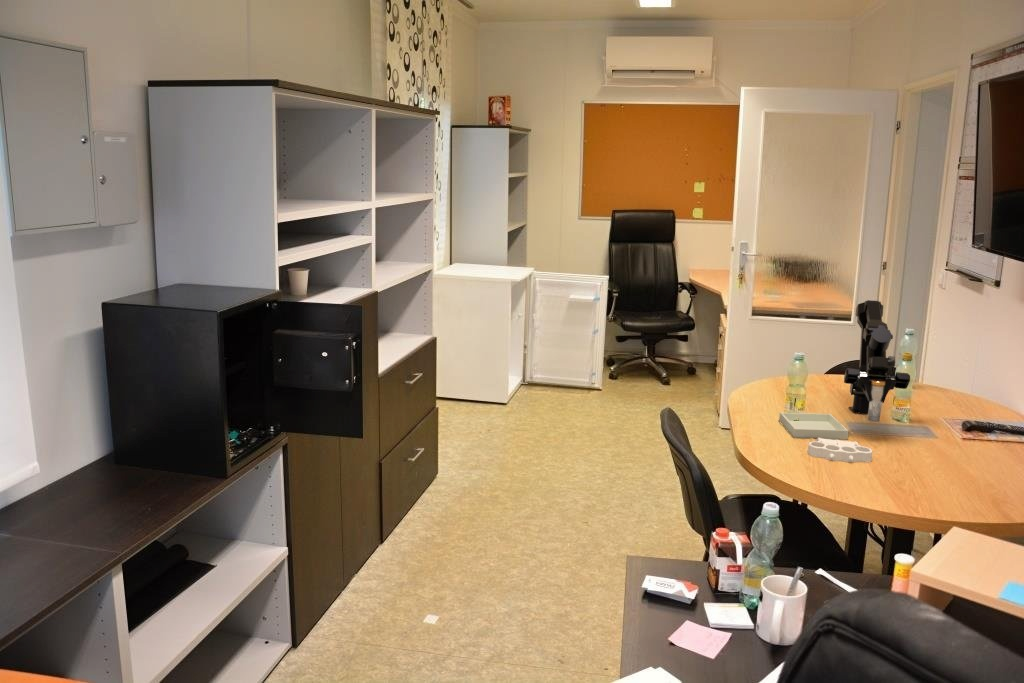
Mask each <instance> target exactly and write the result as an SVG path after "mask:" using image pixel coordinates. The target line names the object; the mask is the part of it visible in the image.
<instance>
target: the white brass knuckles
mask: <svg viewBox="0 0 1024 683" xmlns="http://www.w3.org/2000/svg"><path fill="white" fill-rule="evenodd" d="M807 445H808V446H807V455H809V456H811V457H813V458H821V459H826V460H829V461H833V462H844V463H858V462H859V463H870V462H872V459H873V449H872V448H870V447H868V446H863V445H860V444H859V442H858V441H850V440H849V441H848V440H842V439H822V438H817V439H816V441H815V440H813V441H812V440H811V441H810V442H808V444H807Z"/></svg>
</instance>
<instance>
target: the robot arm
mask: <svg viewBox="0 0 1024 683" xmlns="http://www.w3.org/2000/svg"><path fill="white" fill-rule="evenodd" d="M883 315H884V305H883V304H882V301H879V300H865V301H864V302H861V303H858V304H857V306H856V308H855V317H856V323H857V324H858V326H859V328H860V329H861V333H860V349H859V367H858V368H854V367H853V368H852V367H847V368H846V369H845V372H844V377H843V383H844V384H850V386H849V393H850V395H851V396H853V400H852V406H848V409H849V410H850V411H851V412H852V413H854V414H863V415H864V414H865V415H868V410H869V402H870V400H871V386H872V384H871V380H872V379H880V380H884V381H885V386H884V391H883V399H882V404H884V403H885V401H886V398H887V396H888V394H889V392H890V391H891V390H894V389H903V390H905V389H908V387H909V384H910V382H911V375H910V374H909V373H908V372H901V371H900V372H898V371H896V372H895V375H887V374H888V372H889V368H894V367H895V366H896V356H894V355H893V356H891V355H889V356H888V357H887V350H888V348H889V345H890V344H891V341H892V340H893V338H894V336H893V333H892V332H891V331H890V329H889V328H888V325H887V324H888V323H886V322H884V321H883V319H882V317H883Z"/></svg>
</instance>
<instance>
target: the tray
mask: <svg viewBox="0 0 1024 683" xmlns="http://www.w3.org/2000/svg"><path fill="white" fill-rule="evenodd" d="M796 417H797V418H799V420H801V421H793V420H796ZM778 422H781V423H782V424H783V425H782V424H781V423H780V424H781V425H782V426H783V428H785V430H786V429H787V430H788V431H787V430H786V431H787V432H788V433H789V434H790V436H791V437H792V438H793V439H810V438H813V440H814V439H815V440H817V438H822V439H832V440H836V439H837V440H843V439H849V432H850V431H849V429H848V428H846V427H845V426H844V425H843V424H842V423H841V422H840V421H839V420H838V419H837V418H835V416H833V415H832V414H831V413H814V412H813V413H811V412H810V413H809V412H782V411H781V412H779V418H778Z"/></svg>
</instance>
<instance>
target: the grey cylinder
mask: <svg viewBox="0 0 1024 683" xmlns="http://www.w3.org/2000/svg"><path fill="white" fill-rule="evenodd" d="M871 384H872V386H871V400H870V402H869V410H868V414H867V418H866V419H867V421H869V422H870V423H871V422H872V423H879V422H880V421H881V413H882V407H883V406H882V405H883V403H882V399H883V391H884V386H885V381H884V380H880V379H872V380H871Z"/></svg>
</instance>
